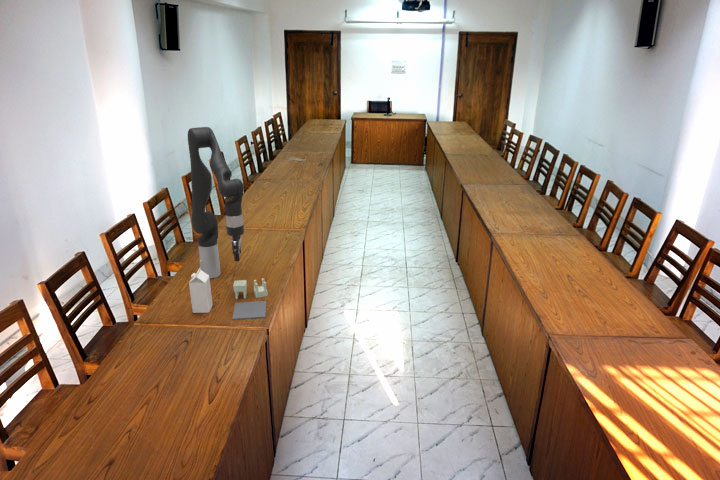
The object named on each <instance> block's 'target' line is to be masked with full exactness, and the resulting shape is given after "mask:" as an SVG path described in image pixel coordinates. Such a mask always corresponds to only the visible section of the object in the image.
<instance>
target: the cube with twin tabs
mask: <svg viewBox="0 0 720 480" xmlns="http://www.w3.org/2000/svg"><path fill="white" fill-rule="evenodd" d="M247 287H248V282H247V279H243V280H242V279H239V280H234V283H233V292H234V297H235V300H238V299H239V295H240V293H241V292H242V293H243V299H247V294H248V290H247Z"/></svg>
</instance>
